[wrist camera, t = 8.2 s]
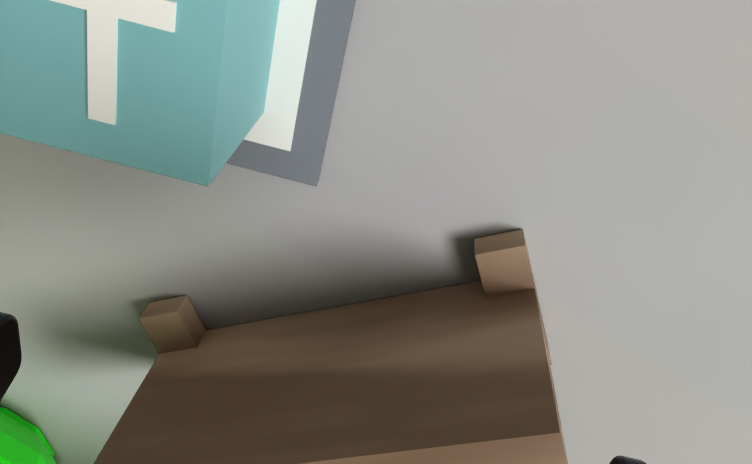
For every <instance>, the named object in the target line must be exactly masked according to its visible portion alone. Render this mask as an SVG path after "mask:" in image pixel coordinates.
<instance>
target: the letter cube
mask: <svg viewBox="0 0 752 464" xmlns="http://www.w3.org/2000/svg"><path fill="white" fill-rule="evenodd" d="M279 4H280V0H0V133H2V134H6V135H10V136H13V137H17V138H21V139H25V140H29V141H33V142H37V143H41V144H45V145H49V146H52V147H56V148H60V149H64V150H68V151H72V152H76V153H80V154H84V155H87V156H91V157H95V158H99V159H103V160H107V161H111V162H115V163H119V164H122V165H126V166H130V167H134V168H138V169H142V170H146V171H150V172H154V173H157V174H161V175H165V176H169V177H173V178H177V179H181V180H185V181H189V182H192V183H196V184H200V185H204V186H209V184H210V183H211V182H212V180H213V179H214V178H215V177H216V175H217V174H218V173H219V171H220V170H221V169H222V167H223V166H224V165H225V163H226V162H227V161H228V159H229V158H230V157H231V155H232V154H233V153H234V151H235V150H236V149H237V147H238V146H239V145H240V143H241V142H242V141H243V139H244V138H245V137H246V135H247V134H248V133H249V131H250V130H251V129H252V127H253V126H254V125H255V123H256V122H257V121H258V119H259V118H260V117H261V116H262V114H263V113H264V108H265V101H266V94H267V87H268V80H269V73H270V66H271V60H272V53H273V46H274V39H275V32H276V25H277V18H278V11H279Z"/></svg>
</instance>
